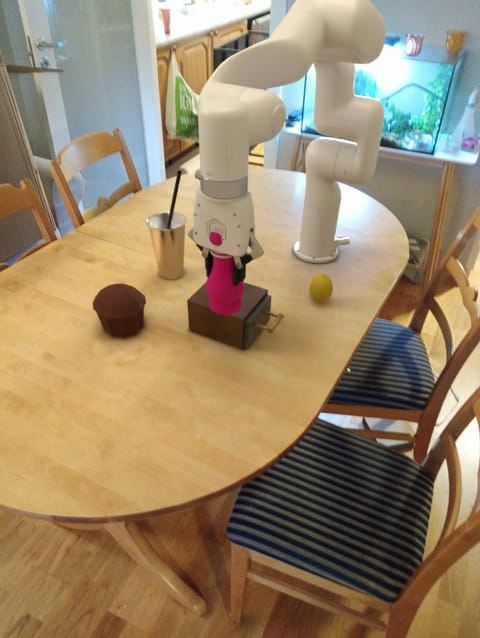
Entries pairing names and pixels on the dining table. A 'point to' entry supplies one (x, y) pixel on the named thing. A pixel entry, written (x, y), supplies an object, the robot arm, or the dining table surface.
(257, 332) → the drawer
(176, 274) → the metal cup with straw
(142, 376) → the dining table surface
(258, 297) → the cabinet
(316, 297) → the lemon
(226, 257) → the pepper mill
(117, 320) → the muffin
